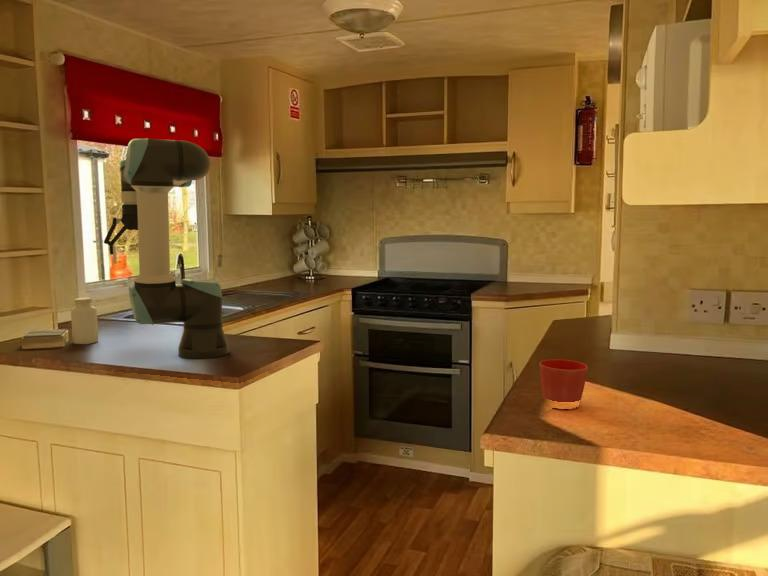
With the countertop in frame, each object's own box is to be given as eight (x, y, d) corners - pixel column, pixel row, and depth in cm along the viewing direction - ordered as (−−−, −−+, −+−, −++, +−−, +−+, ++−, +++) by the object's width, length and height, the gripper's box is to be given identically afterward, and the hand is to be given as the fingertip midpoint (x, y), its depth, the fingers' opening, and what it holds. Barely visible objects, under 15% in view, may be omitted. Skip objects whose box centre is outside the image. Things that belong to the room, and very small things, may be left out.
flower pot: (576, 398, 155) (578, 358, 154) (593, 412, 144) (594, 369, 143) (532, 398, 155) (533, 358, 153) (545, 413, 144) (547, 369, 143)
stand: (63, 346, 213) (62, 334, 213) (22, 349, 210) (21, 336, 209) (68, 340, 225) (68, 328, 224) (30, 342, 221) (29, 330, 221)
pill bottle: (68, 342, 221) (66, 298, 219) (92, 339, 226) (90, 296, 225) (78, 345, 215) (76, 300, 213) (102, 342, 221) (100, 298, 219)
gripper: (170, 204, 239) (172, 261, 242) (96, 203, 232) (99, 263, 235) (169, 203, 232) (171, 263, 234) (93, 203, 225) (96, 264, 228)
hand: (135, 263), depth 235 cm, fingers open, 13 cm apart
